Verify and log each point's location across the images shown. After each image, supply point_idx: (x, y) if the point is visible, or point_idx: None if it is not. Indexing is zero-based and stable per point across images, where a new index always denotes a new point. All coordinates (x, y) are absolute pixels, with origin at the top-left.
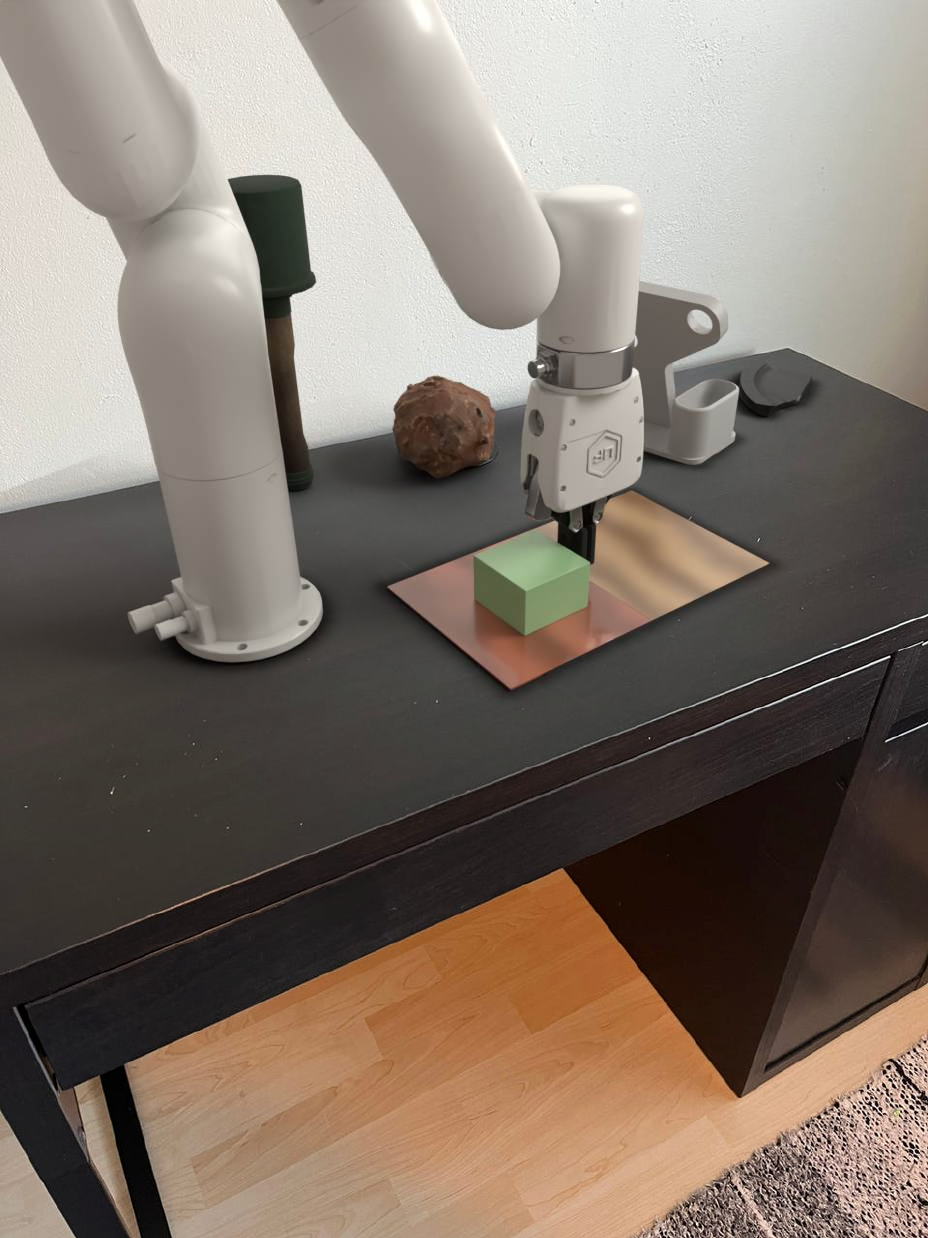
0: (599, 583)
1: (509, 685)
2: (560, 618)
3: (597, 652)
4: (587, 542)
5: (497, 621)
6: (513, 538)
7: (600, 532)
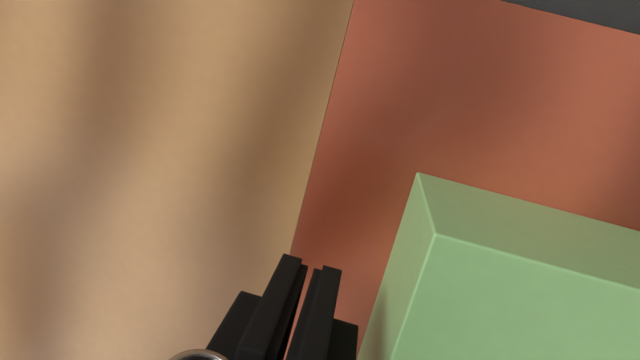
0: (288, 206)
1: None
2: (526, 201)
3: (615, 14)
4: (288, 318)
5: None
6: None
7: (83, 326)
